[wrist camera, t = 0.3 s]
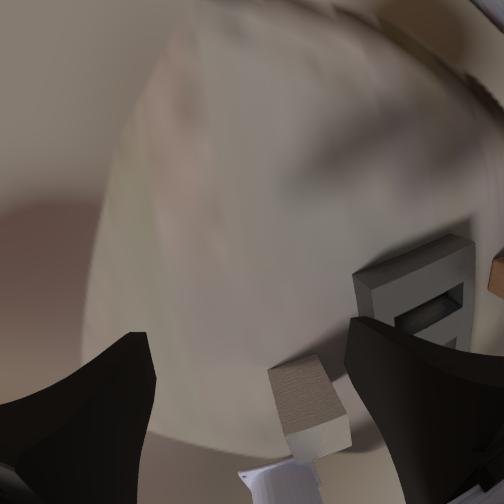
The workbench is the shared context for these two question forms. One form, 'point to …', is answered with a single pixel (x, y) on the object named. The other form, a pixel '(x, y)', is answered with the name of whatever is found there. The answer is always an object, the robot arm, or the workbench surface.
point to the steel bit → (309, 409)
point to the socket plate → (424, 292)
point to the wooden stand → (497, 277)
